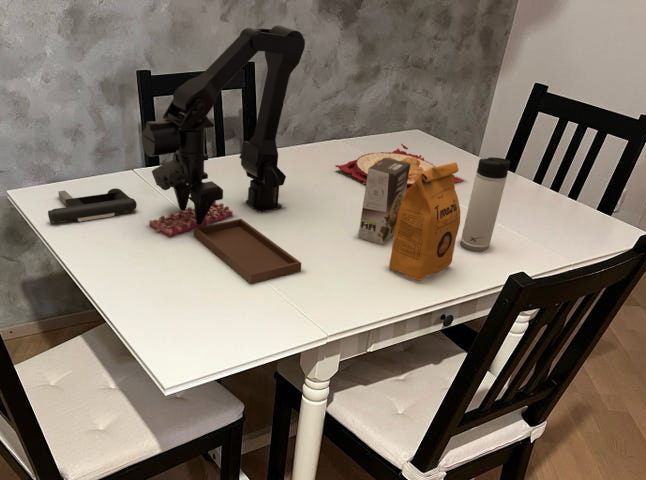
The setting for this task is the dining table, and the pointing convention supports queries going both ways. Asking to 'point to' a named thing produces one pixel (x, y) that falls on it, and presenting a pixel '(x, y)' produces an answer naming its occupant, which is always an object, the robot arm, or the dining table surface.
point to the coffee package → (427, 224)
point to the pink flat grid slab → (189, 220)
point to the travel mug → (484, 203)
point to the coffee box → (383, 199)
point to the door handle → (92, 206)
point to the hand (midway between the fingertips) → (190, 217)
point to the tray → (247, 250)
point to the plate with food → (366, 161)
